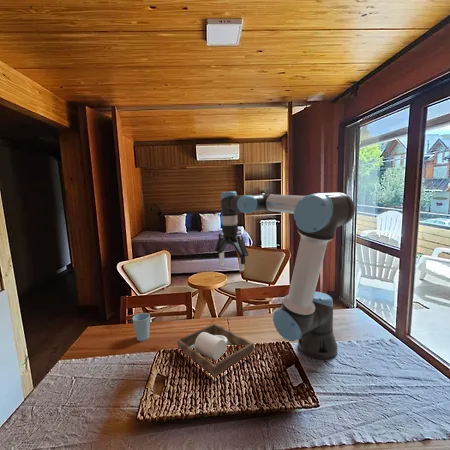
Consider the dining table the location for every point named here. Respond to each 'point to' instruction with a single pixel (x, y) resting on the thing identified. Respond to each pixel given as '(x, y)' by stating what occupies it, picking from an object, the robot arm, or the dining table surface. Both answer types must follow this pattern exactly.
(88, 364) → the dining table surface
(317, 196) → the robot arm
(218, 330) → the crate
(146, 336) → the cup
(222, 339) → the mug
